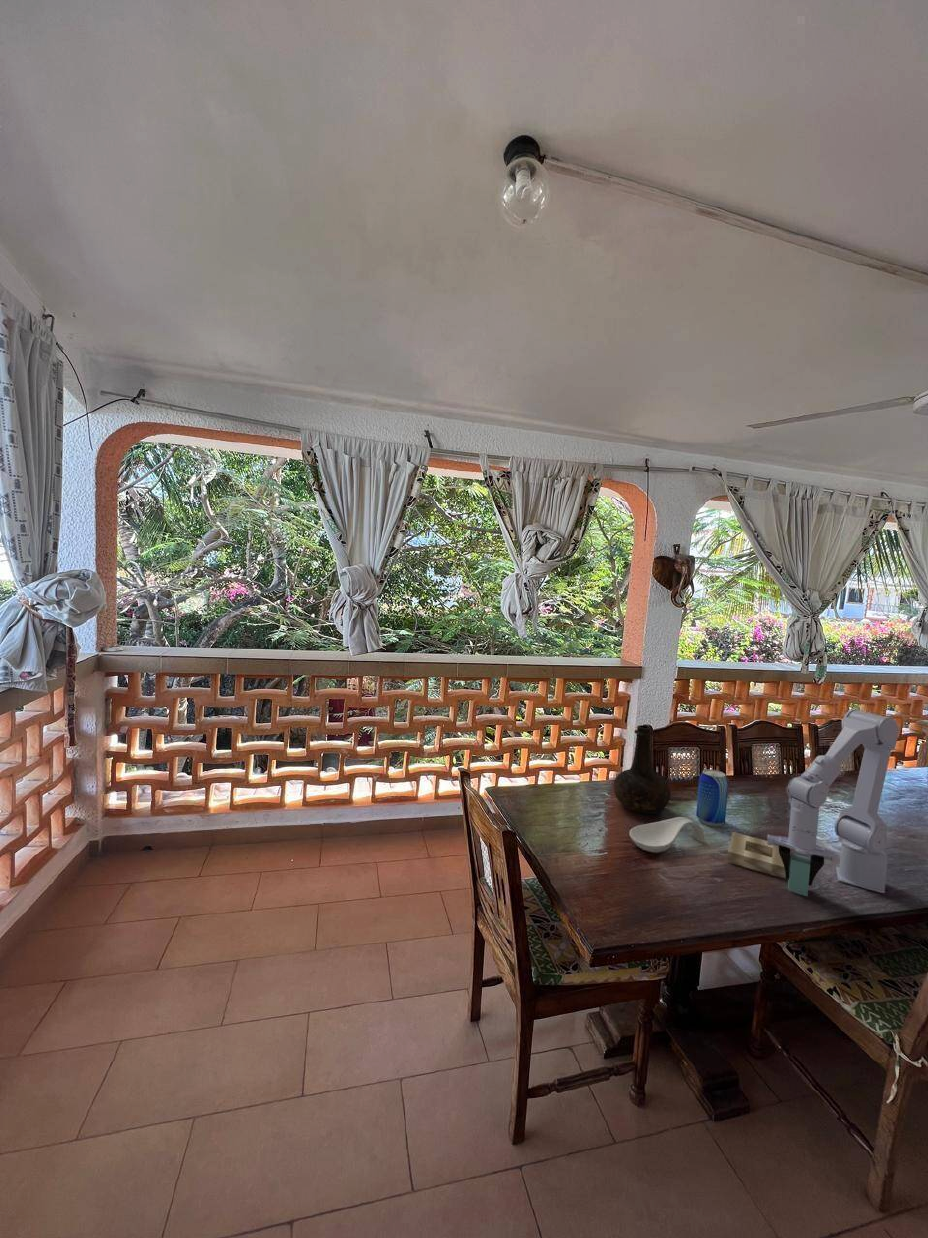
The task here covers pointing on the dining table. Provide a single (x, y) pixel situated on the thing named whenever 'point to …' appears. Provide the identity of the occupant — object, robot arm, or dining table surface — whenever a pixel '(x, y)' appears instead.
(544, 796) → the dining table surface
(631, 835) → the spoon rest
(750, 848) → the board
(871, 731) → the robot arm
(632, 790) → the glass bottle
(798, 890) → the teal block
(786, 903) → the dining table surface
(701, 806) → the beer can
